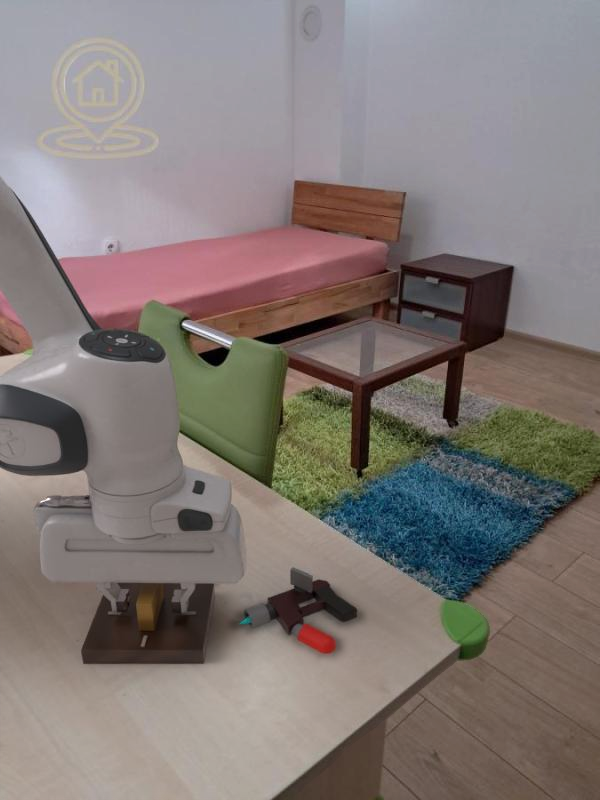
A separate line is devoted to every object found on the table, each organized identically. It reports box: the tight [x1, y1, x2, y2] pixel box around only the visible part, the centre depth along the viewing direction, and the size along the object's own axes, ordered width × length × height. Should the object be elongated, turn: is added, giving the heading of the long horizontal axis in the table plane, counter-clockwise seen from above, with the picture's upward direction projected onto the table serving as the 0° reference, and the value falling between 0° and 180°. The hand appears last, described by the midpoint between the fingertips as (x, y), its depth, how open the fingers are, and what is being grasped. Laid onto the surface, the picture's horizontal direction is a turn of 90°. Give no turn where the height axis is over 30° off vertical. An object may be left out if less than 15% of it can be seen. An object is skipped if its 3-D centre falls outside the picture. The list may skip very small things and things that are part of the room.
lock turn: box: [136, 583, 164, 631], centre depth 66 cm, size 5×2×4 cm, turn 0°
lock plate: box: [80, 583, 216, 665], centre depth 67 cm, size 12×10×3 cm
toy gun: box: [238, 566, 358, 655], centre depth 67 cm, size 10×12×5 cm
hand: (151, 608), depth 66 cm, fingers open, 5 cm apart
